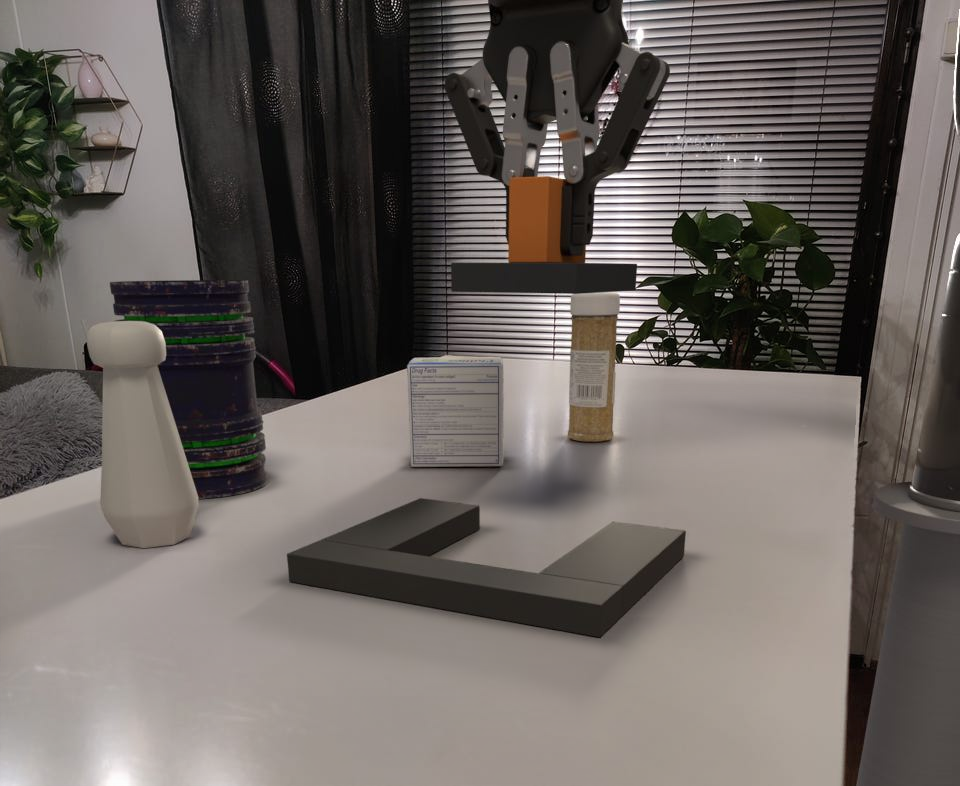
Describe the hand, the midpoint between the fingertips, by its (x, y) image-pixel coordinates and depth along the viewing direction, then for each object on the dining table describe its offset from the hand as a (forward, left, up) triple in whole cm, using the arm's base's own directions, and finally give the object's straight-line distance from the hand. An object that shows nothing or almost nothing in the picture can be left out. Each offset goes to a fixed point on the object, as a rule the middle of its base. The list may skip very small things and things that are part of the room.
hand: (547, 254), depth 55 cm
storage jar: (+2, -28, -17) cm, 33 cm away
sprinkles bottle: (-30, -8, -17) cm, 35 cm away
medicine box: (-14, -14, -17) cm, 26 cm away
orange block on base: (0, 0, -2) cm, 2 cm away
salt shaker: (+15, -20, -17) cm, 30 cm away
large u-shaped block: (+11, +2, -16) cm, 20 cm away
